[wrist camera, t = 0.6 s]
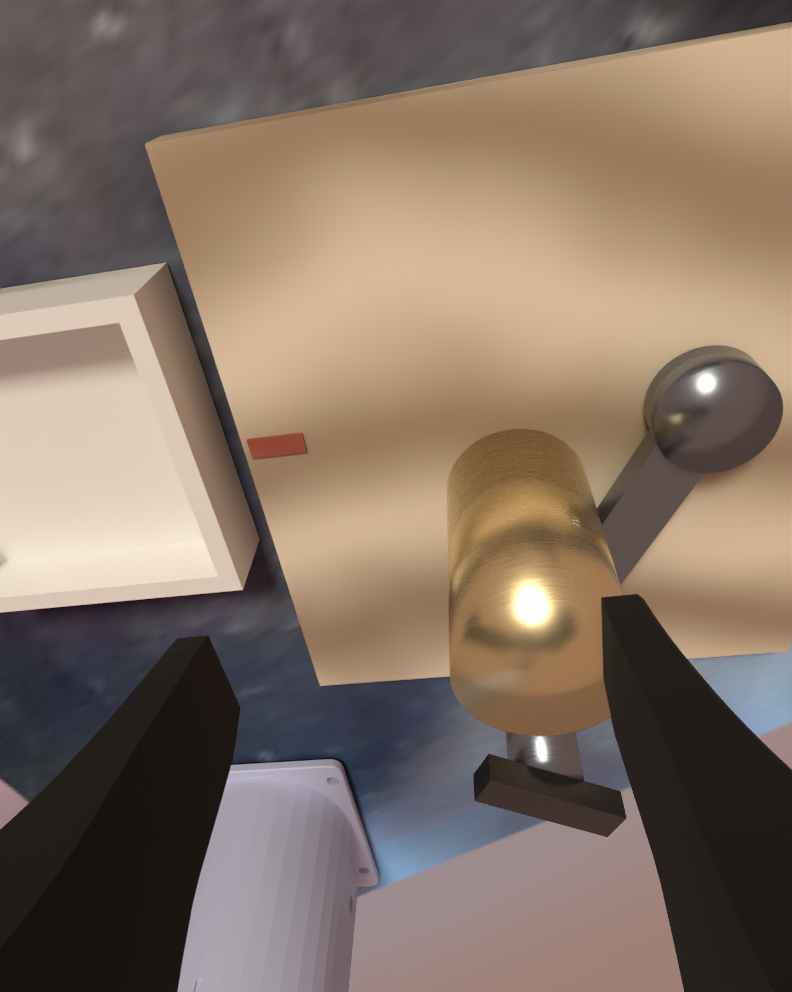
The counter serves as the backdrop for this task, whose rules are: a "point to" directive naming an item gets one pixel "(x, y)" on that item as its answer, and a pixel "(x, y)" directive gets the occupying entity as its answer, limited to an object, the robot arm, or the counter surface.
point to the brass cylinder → (526, 585)
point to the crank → (643, 550)
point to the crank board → (497, 321)
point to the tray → (111, 449)
